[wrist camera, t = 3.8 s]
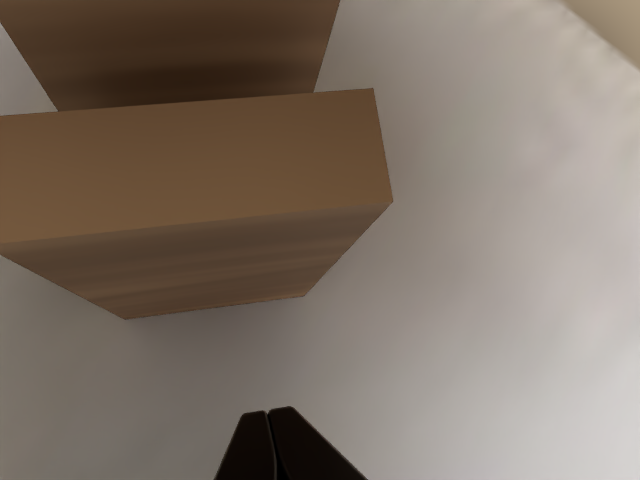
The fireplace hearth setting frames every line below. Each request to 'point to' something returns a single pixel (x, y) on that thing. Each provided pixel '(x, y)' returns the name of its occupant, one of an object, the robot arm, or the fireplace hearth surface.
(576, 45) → the fireplace hearth surface
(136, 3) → the domino
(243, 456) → the robot arm
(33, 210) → the domino
